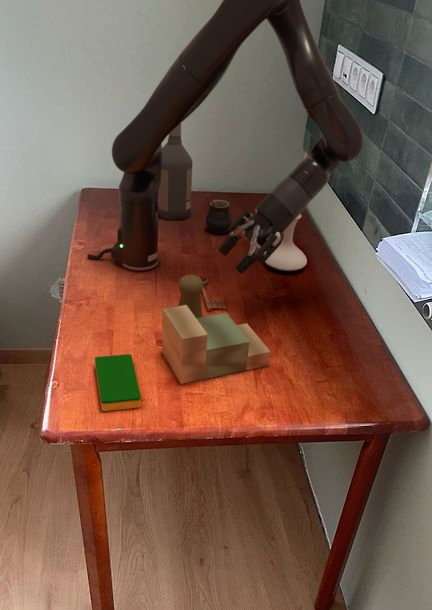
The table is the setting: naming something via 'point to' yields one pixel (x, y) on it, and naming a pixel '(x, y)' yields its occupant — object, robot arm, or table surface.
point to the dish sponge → (117, 382)
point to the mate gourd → (218, 216)
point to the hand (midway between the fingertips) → (229, 261)
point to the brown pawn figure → (191, 294)
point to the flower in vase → (287, 252)
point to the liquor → (175, 179)
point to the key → (208, 304)
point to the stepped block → (209, 345)
